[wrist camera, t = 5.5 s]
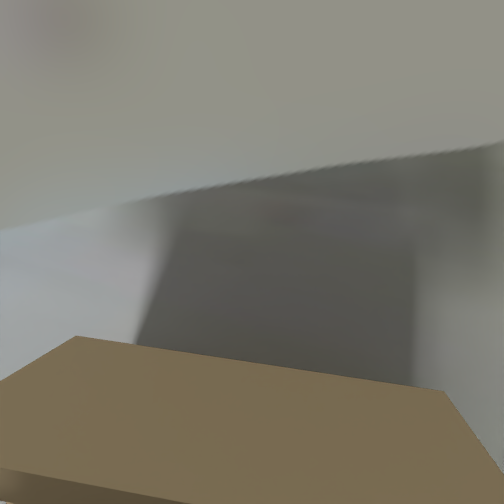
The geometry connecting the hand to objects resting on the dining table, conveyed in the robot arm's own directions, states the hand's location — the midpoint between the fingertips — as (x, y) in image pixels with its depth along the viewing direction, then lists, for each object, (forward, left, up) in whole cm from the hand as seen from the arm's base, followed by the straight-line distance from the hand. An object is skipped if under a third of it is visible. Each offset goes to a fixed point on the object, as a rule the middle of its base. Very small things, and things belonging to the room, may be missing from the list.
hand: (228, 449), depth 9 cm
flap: (0, 0, 0) cm, 1 cm away
